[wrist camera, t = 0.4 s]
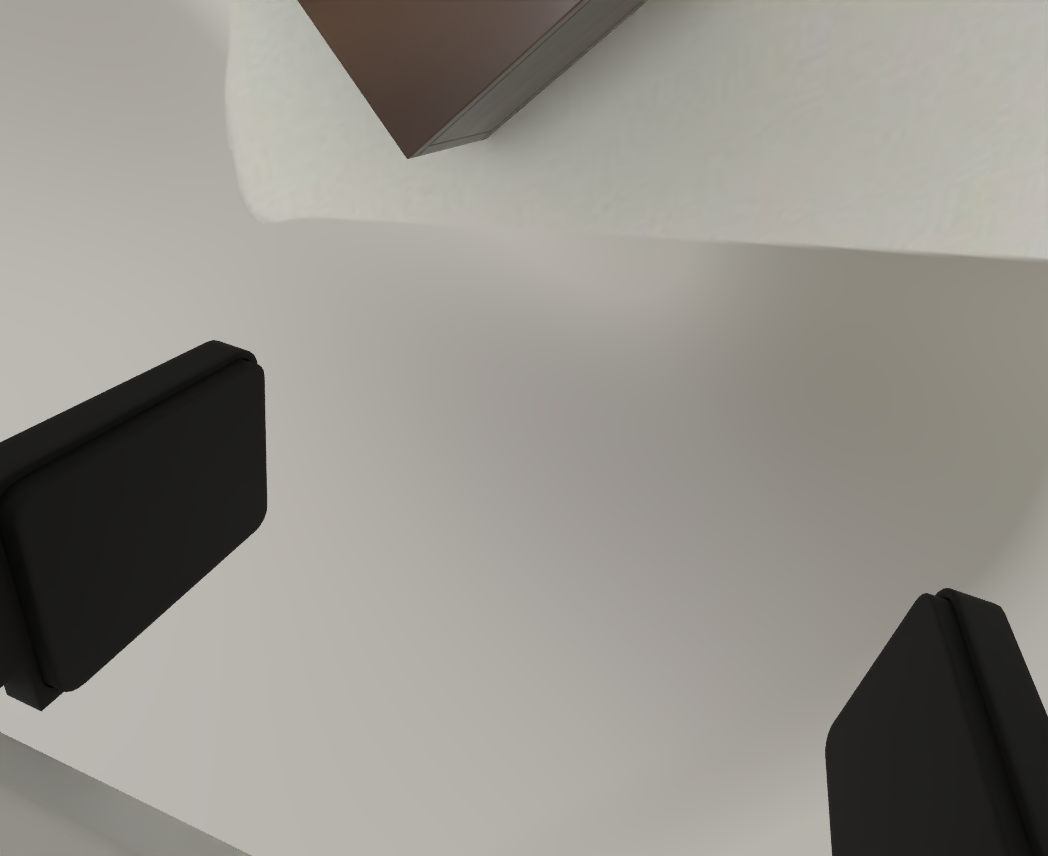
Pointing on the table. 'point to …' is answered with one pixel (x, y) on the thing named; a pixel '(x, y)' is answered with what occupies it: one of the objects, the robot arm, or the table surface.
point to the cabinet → (458, 58)
